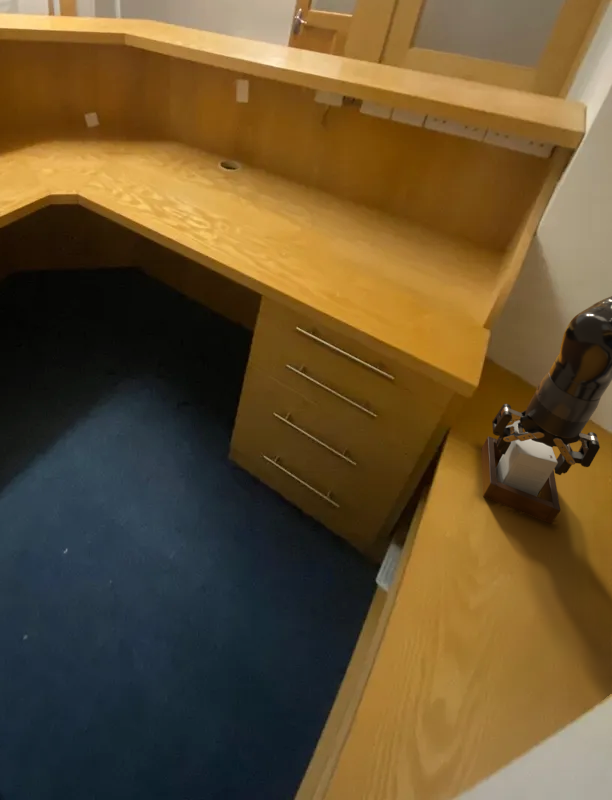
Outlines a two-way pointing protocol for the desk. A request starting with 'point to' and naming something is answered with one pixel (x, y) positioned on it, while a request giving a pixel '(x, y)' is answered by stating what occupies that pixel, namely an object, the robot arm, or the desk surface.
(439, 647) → the desk surface
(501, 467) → the cosmetic box
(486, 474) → the box
